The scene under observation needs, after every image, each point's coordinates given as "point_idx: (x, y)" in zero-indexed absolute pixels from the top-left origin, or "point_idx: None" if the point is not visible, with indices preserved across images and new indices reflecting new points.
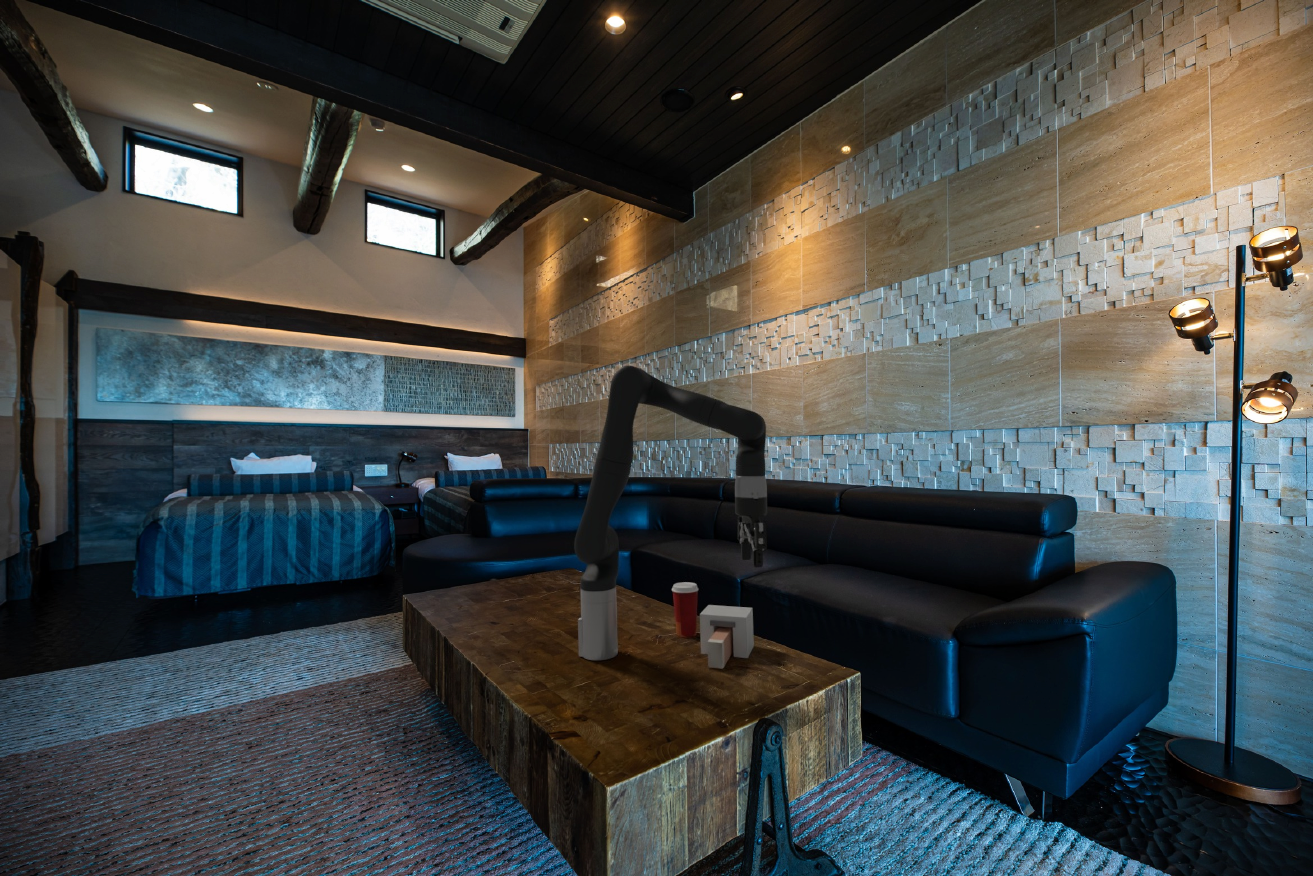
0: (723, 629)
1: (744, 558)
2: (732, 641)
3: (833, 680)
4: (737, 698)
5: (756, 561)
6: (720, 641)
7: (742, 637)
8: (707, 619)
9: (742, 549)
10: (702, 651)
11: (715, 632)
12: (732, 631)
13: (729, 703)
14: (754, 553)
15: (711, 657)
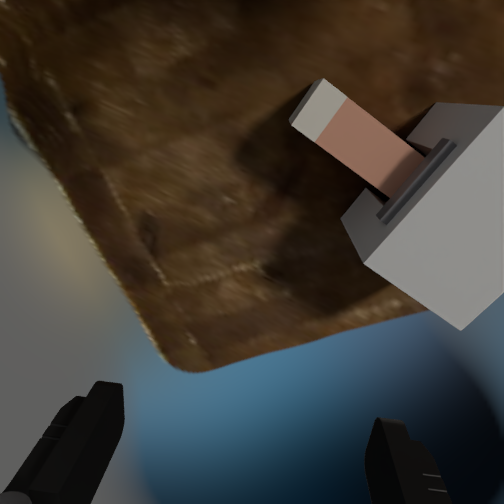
0: None
1: (376, 434)
2: None
3: (157, 327)
4: (110, 85)
5: (54, 419)
6: (306, 125)
7: (359, 226)
8: (468, 134)
9: (402, 497)
10: (435, 107)
11: (403, 145)
12: None
13: (86, 52)
14: (42, 475)
15: (310, 90)
